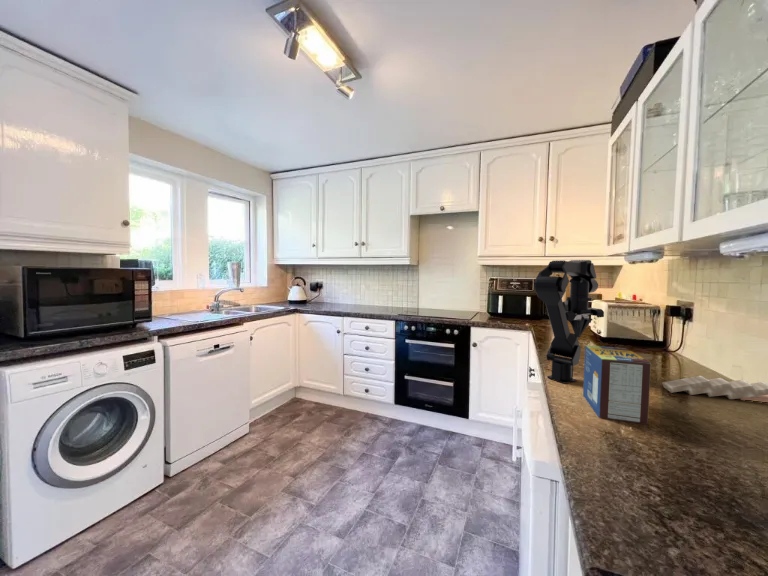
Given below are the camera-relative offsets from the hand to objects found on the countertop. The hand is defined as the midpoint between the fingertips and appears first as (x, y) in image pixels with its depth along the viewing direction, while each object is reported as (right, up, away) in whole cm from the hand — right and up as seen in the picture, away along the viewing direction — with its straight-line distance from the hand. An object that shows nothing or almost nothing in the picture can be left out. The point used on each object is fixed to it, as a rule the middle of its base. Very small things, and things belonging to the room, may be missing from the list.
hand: (577, 337), depth 115 cm
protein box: (-9, -15, -30) cm, 34 cm away
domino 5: (+35, -14, -21) cm, 43 cm away
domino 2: (+23, -14, -18) cm, 32 cm away
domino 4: (+31, -14, -21) cm, 40 cm away
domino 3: (+27, -14, -19) cm, 36 cm away
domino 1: (+18, -13, -16) cm, 28 cm away
